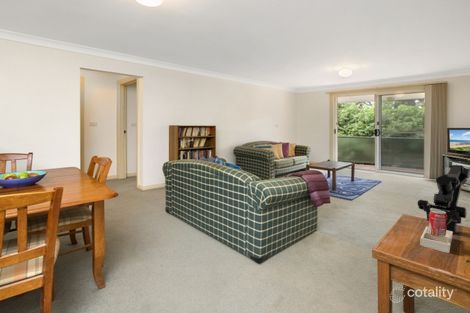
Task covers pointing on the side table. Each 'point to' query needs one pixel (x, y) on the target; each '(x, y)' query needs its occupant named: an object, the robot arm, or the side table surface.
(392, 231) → the side table surface
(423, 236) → the can carrier
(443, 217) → the soda can
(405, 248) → the side table surface
